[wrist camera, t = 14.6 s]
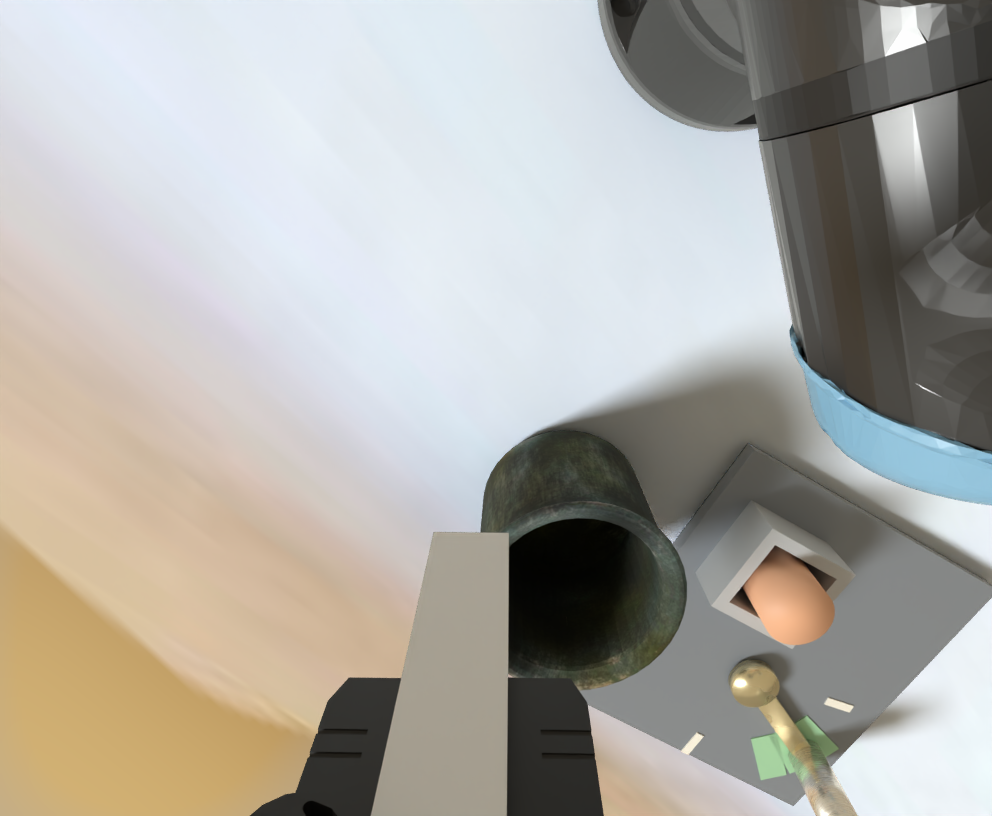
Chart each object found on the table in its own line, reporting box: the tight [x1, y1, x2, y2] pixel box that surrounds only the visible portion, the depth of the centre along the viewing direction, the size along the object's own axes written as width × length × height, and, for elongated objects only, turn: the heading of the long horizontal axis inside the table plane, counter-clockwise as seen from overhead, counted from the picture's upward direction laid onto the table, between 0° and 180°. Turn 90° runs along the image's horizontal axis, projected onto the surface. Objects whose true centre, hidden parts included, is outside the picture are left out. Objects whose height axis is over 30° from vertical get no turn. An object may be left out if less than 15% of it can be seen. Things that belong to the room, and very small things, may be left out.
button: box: [742, 545, 835, 645], centre depth 42 cm, size 4×4×5 cm
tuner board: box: [580, 443, 992, 806], centre depth 46 cm, size 22×20×5 cm
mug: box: [481, 431, 687, 691], centre depth 40 cm, size 11×15×12 cm
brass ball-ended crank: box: [728, 660, 857, 816], centre depth 46 cm, size 11×3×6 cm, turn 35°
